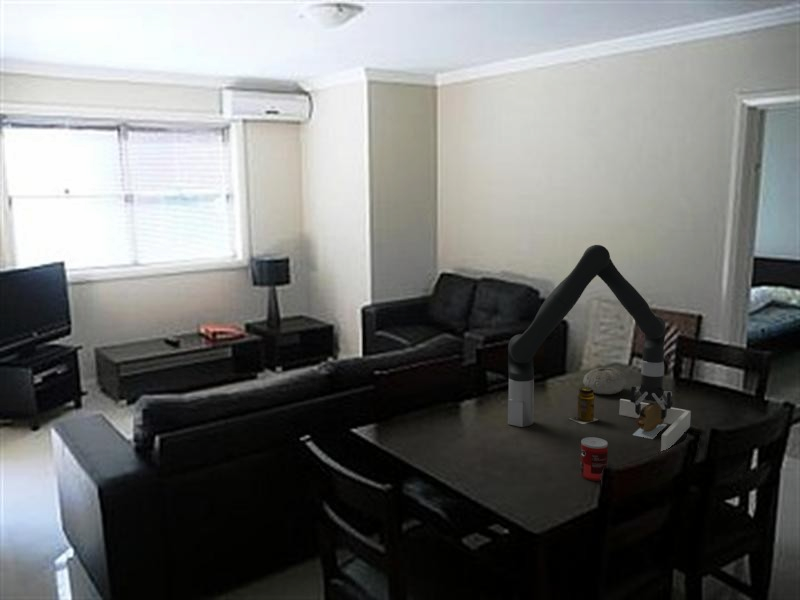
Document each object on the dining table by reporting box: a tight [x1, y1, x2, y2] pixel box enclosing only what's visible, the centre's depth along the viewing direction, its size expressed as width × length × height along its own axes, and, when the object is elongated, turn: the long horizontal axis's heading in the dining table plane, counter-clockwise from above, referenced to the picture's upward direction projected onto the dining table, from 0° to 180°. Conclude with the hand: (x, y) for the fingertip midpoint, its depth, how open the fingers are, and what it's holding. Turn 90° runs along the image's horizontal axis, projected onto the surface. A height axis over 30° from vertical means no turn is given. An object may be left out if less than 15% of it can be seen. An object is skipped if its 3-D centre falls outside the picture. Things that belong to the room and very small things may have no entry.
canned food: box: [580, 436, 609, 482], centre depth 210 cm, size 8×8×11 cm
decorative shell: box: [582, 367, 628, 395], centre depth 293 cm, size 18×18×10 cm
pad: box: [632, 423, 668, 440], centre depth 248 cm, size 17×7×1 cm, turn 143°
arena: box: [618, 398, 692, 452], centre depth 246 cm, size 30×26×6 cm
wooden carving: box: [634, 402, 664, 431], centre depth 247 cm, size 16×5×10 cm, turn 132°
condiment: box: [568, 386, 599, 425], centre depth 259 cm, size 7×8×12 cm
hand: (650, 416), depth 247 cm, fingers open, 8 cm apart
